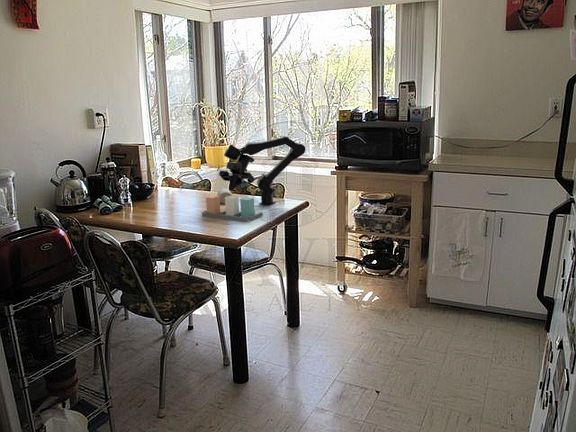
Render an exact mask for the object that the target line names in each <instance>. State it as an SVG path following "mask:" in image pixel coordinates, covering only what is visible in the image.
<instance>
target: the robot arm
mask: <svg viewBox="0 0 576 432" xmlns="http://www.w3.org/2000/svg"><path fill="white" fill-rule="evenodd" d="M283 145H284V146H285V145H286V146H287V147H289V148H290V149H289V150H288V153H287V154H286V155H285V156H284V157H282V159H281V160H280V161H279V162H278V163H277V164H276V165H275V166H273V168H272V169H270V171H269V172H268V173H266V174H265V173H264V172H263V173H262V174H261V175H260V177H258V178H257V181H256V185H257V186H256V187H257V188H258V190H260V191H261V194H260V196H261V197H260V199H261V200H260V201H261V202H259V205H262V206H271V205H274V204H275V203H277V202H276V201H274V188H272V186H271V185H272V183H273V182H274V180H275V179H276V178H277V177H278V176H279V175H280V174H281V173H282V172H283V171H284V170H285V169H286V168H287V167H288V166H289V165H290V164H291V163H292V162H293V161H295V160H296V159H298V158H300V157H301V156H303V155H304V154H305V153H306V147H305V145H304V144H303V143H300V142H295V141H293V140H292V139H291V138H289V137H288V136H286V135H283V136H281V137H277V138H273V139H269V140H265V141H260V142H258V141H257V142H247V143H246V144H245V146H243V147H241V148H237V147H236V146H235V145H233V144H231V143H230V144H229V146H228V147H227V148H226V149H225V151H224V154H223V156H224V157H226V158H227V159H229V160H231V162H230V161H227V163H226V166H225V167H226V168H225V169H226V170H220V171H219V173H218V176H220V178H221V179H222V180H223V181H225V182H229V185H228V190H229V191H230V192H232V191H234V190H235V189H236V188H237V187H238V186H241V185H242V184H244V181H245V180H247V183H250V184H254V181H255V177H254V176H253V175H252V174H251V172H249V171H248V169H247V168H248V166H249V163H250V164H253V163H254V162H255V158H254V155H256V154H258V153H260V152H261V151H264V150H269V149H273V148H276V147H281V146H283ZM233 161H236V162H233ZM228 170H229V171H228Z"/></svg>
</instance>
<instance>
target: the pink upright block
mask: <svg viewBox="0 0 576 432" xmlns="http://www.w3.org/2000/svg"><path fill="white" fill-rule="evenodd" d="M205 203H206V210H207V213H214V214H218V213H220V212H221V202H220V199H219V196H217V195H208V196H205Z"/></svg>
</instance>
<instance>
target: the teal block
mask: <svg viewBox="0 0 576 432" xmlns="http://www.w3.org/2000/svg"><path fill="white" fill-rule="evenodd" d="M239 206H240V212H241V217H245V218H248V220H249V217H251V216H253V215H256V214H255V198H254V197H247V196H244V197H242V198H240V199H239Z"/></svg>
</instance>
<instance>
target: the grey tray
mask: <svg viewBox="0 0 576 432" xmlns="http://www.w3.org/2000/svg"><path fill="white" fill-rule="evenodd" d="M263 215H264V214H263V212H262V211H261V212H259V213H256V214H255V215H253V216H251V217H249V219H248V218H245V217H241V211H239V213H238V214H235V215H233V216H229V215H226V210H223V211H220V213H218V214H214V213H207V209H205V210H203V211H202V212H201V217H207V218H213V219H214V218H215V219H222V220H228V221H229V220H230V221H235V222H236V221H237V222H238V221H239V222H245V223H248V222H249V221H250V222H252V221H254V220H256V219H258V218H261V217H264V216H263Z"/></svg>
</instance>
